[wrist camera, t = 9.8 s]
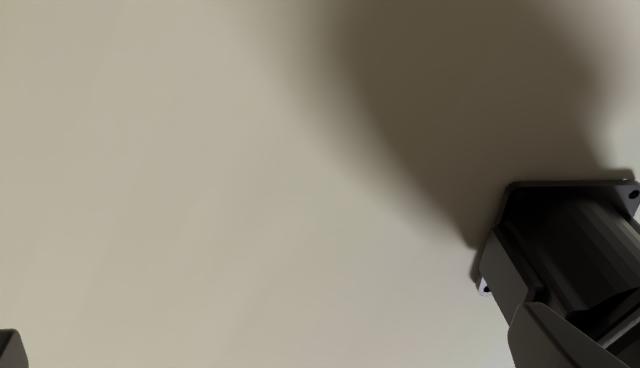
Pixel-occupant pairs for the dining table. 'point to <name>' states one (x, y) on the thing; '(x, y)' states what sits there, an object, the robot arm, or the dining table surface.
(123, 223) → the dining table surface
